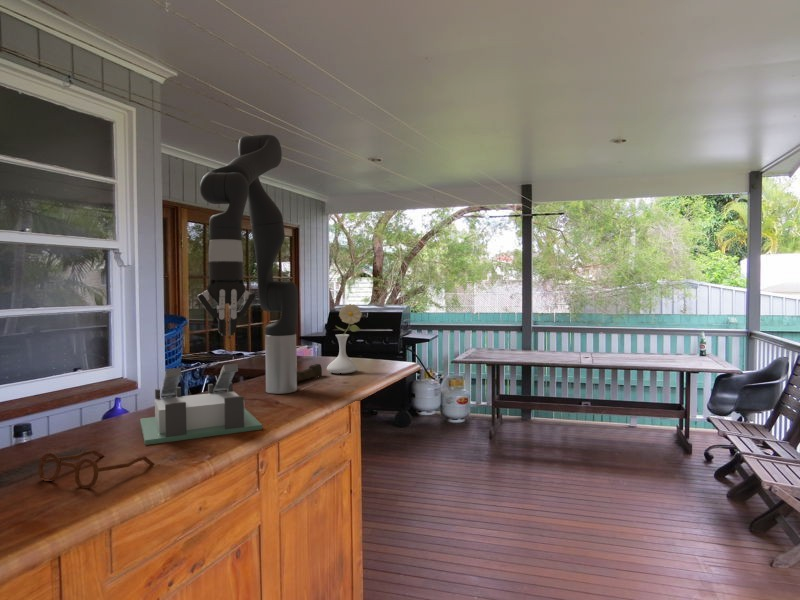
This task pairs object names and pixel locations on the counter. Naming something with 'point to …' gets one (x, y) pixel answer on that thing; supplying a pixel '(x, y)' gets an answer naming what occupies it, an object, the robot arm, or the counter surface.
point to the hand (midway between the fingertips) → (227, 335)
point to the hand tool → (309, 372)
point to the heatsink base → (197, 416)
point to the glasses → (79, 464)
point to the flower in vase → (342, 361)
